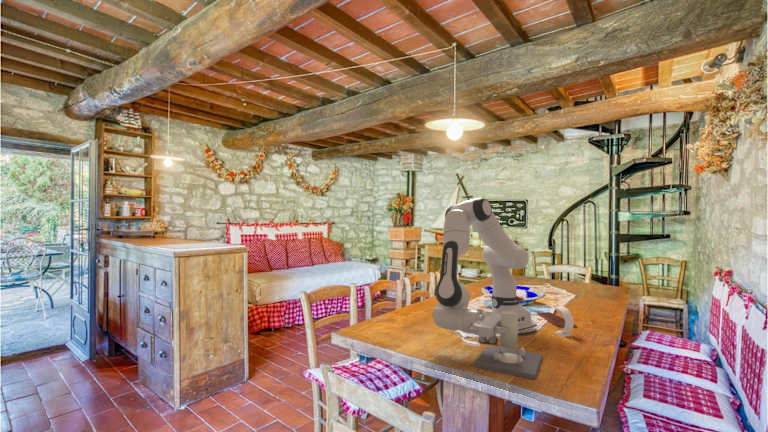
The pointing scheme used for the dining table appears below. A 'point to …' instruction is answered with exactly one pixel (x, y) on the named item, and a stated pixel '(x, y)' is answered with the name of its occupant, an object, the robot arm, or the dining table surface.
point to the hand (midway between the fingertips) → (511, 327)
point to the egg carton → (488, 339)
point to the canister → (510, 321)
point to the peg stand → (510, 361)
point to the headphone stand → (568, 321)
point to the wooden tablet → (554, 319)
